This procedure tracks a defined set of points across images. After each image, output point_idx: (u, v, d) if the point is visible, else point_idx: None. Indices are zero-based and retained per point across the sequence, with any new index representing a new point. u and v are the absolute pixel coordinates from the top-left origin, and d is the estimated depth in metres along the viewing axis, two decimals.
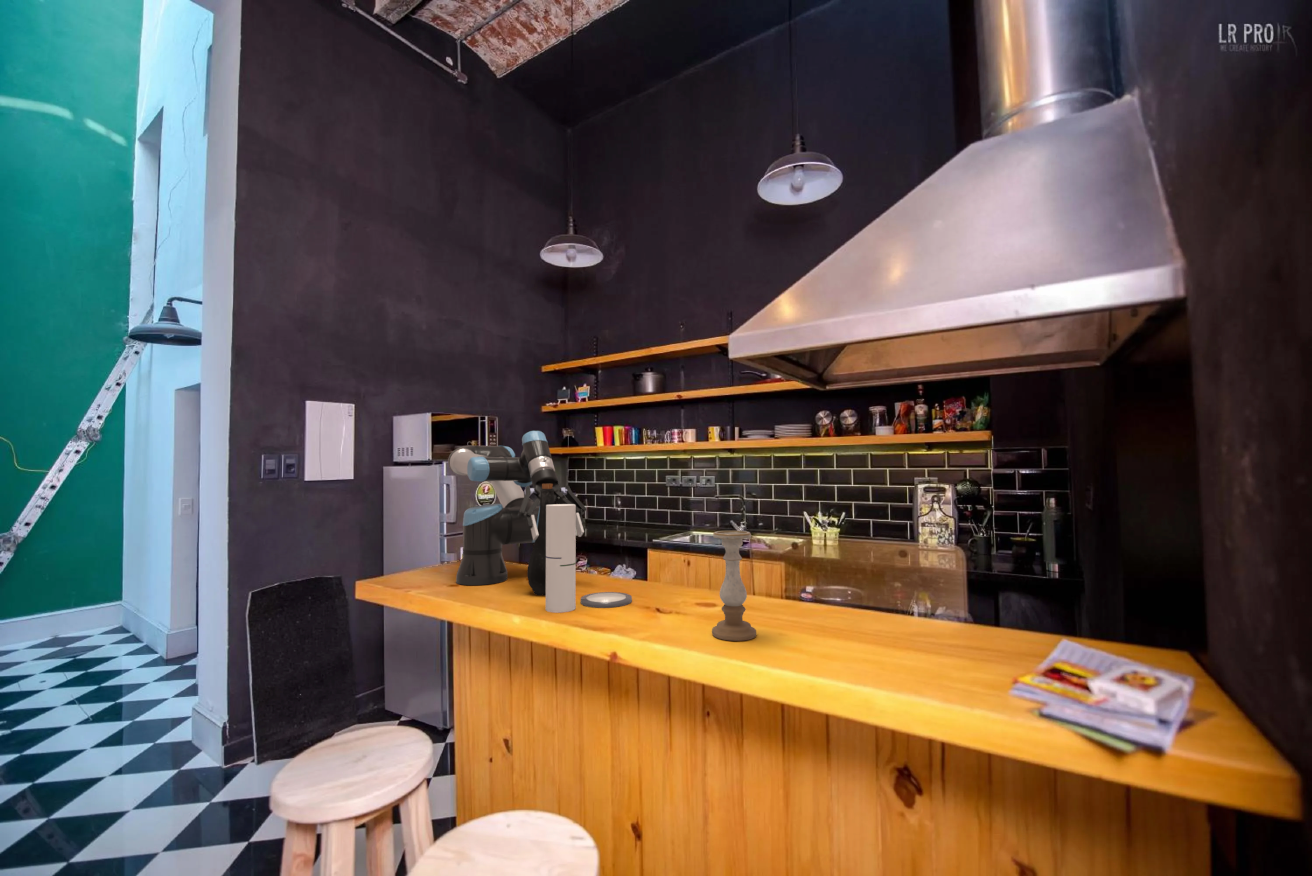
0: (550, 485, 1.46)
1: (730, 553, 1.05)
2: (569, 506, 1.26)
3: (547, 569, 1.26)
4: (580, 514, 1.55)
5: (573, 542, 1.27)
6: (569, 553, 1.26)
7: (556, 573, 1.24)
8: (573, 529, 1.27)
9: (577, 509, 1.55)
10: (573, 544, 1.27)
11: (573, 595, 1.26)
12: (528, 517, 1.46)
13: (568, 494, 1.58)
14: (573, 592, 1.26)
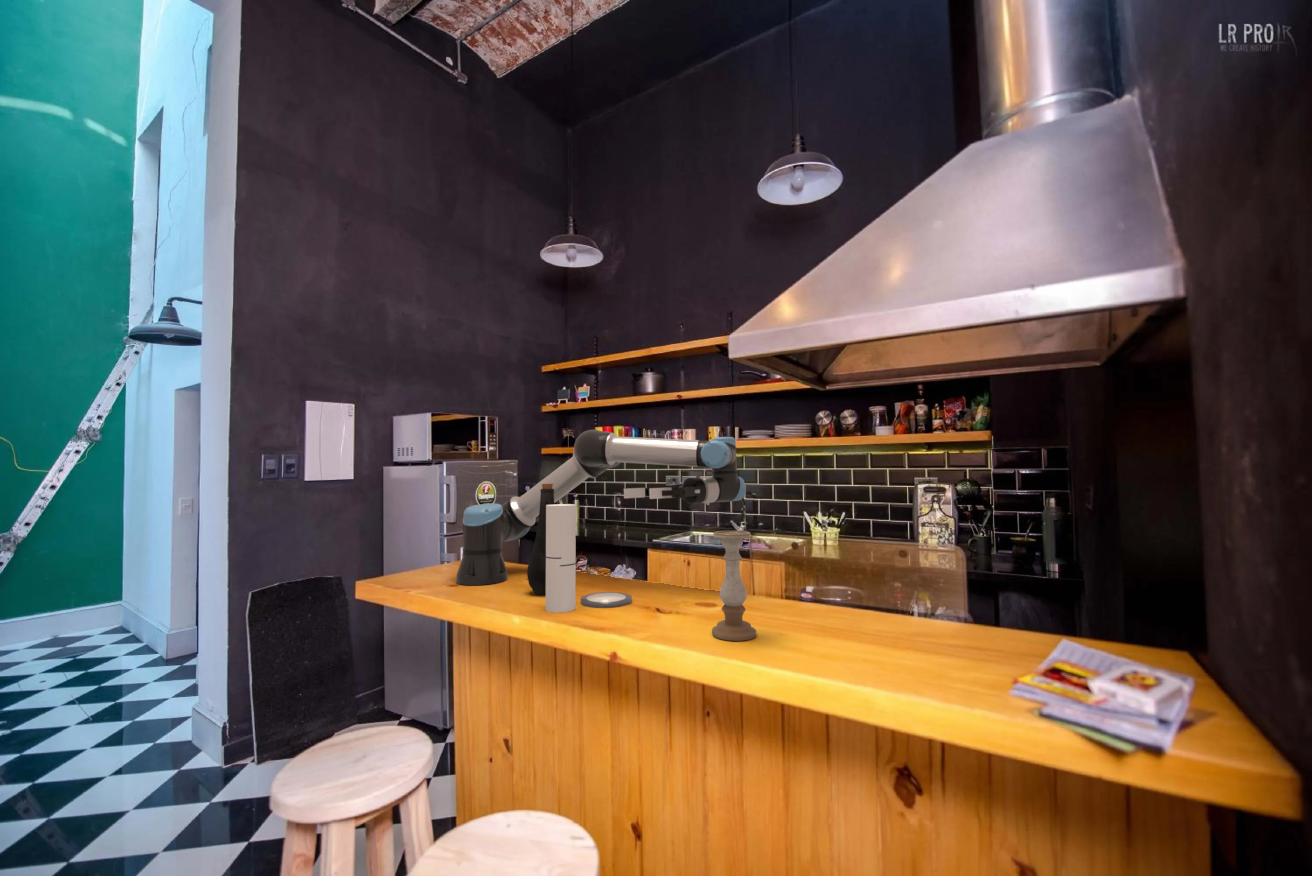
0: (550, 485, 1.46)
1: (730, 553, 1.05)
2: (569, 506, 1.26)
3: (547, 569, 1.26)
4: None
5: (573, 542, 1.27)
6: (569, 553, 1.26)
7: (556, 573, 1.24)
8: (573, 529, 1.27)
9: (647, 496, 1.51)
10: (573, 544, 1.27)
11: (573, 595, 1.26)
12: None
13: None
14: (573, 592, 1.26)
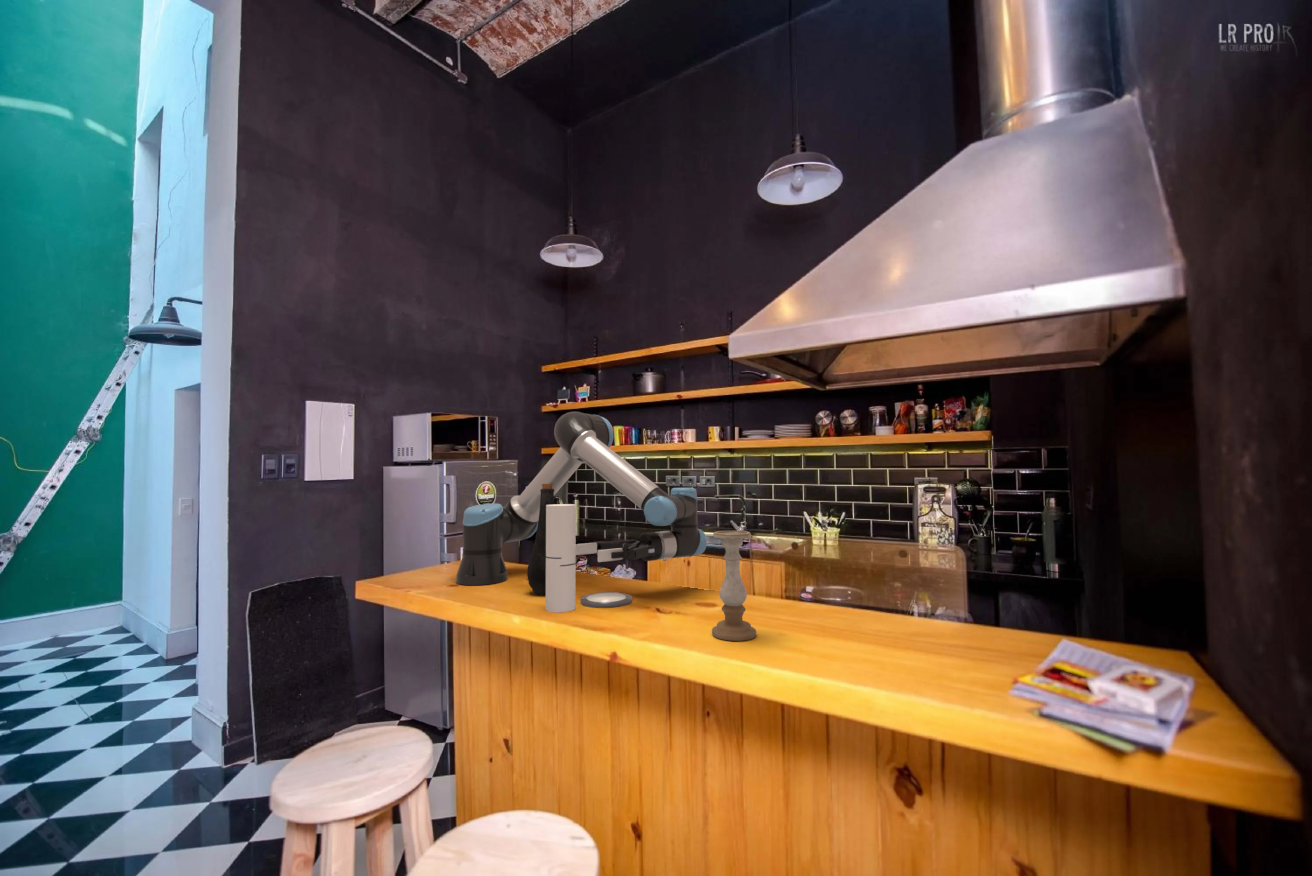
0: (550, 485, 1.46)
1: (730, 553, 1.05)
2: (569, 506, 1.26)
3: (547, 569, 1.26)
4: None
5: (573, 542, 1.27)
6: (569, 553, 1.26)
7: (556, 573, 1.24)
8: (573, 529, 1.27)
9: None
10: (573, 544, 1.27)
11: (573, 595, 1.26)
12: None
13: None
14: (573, 592, 1.26)
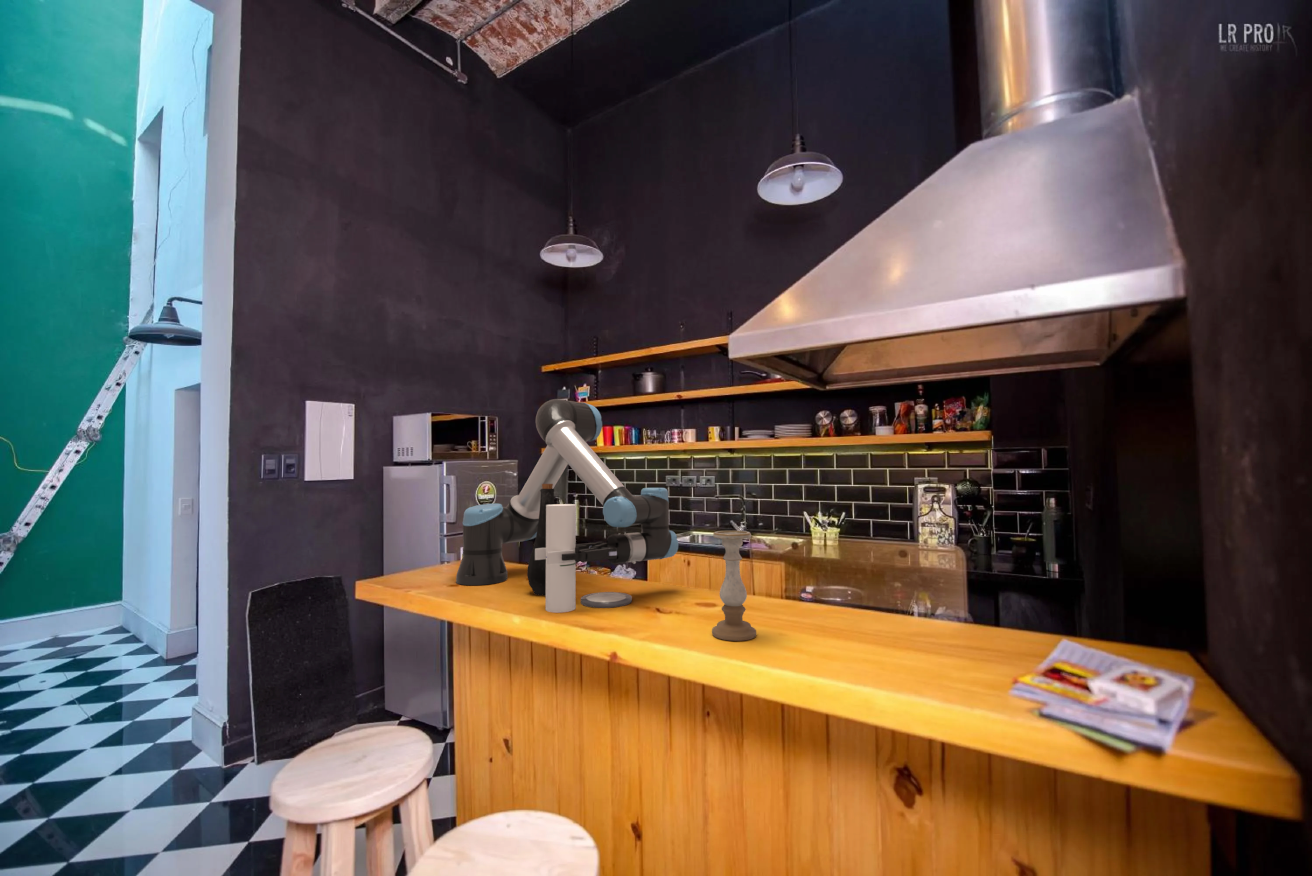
0: (550, 485, 1.46)
1: (730, 553, 1.05)
2: (569, 506, 1.26)
3: (547, 569, 1.26)
4: None
5: (573, 542, 1.27)
6: None
7: (556, 573, 1.24)
8: (573, 529, 1.27)
9: None
10: (573, 544, 1.27)
11: (573, 595, 1.26)
12: (573, 559, 1.24)
13: None
14: (573, 592, 1.26)
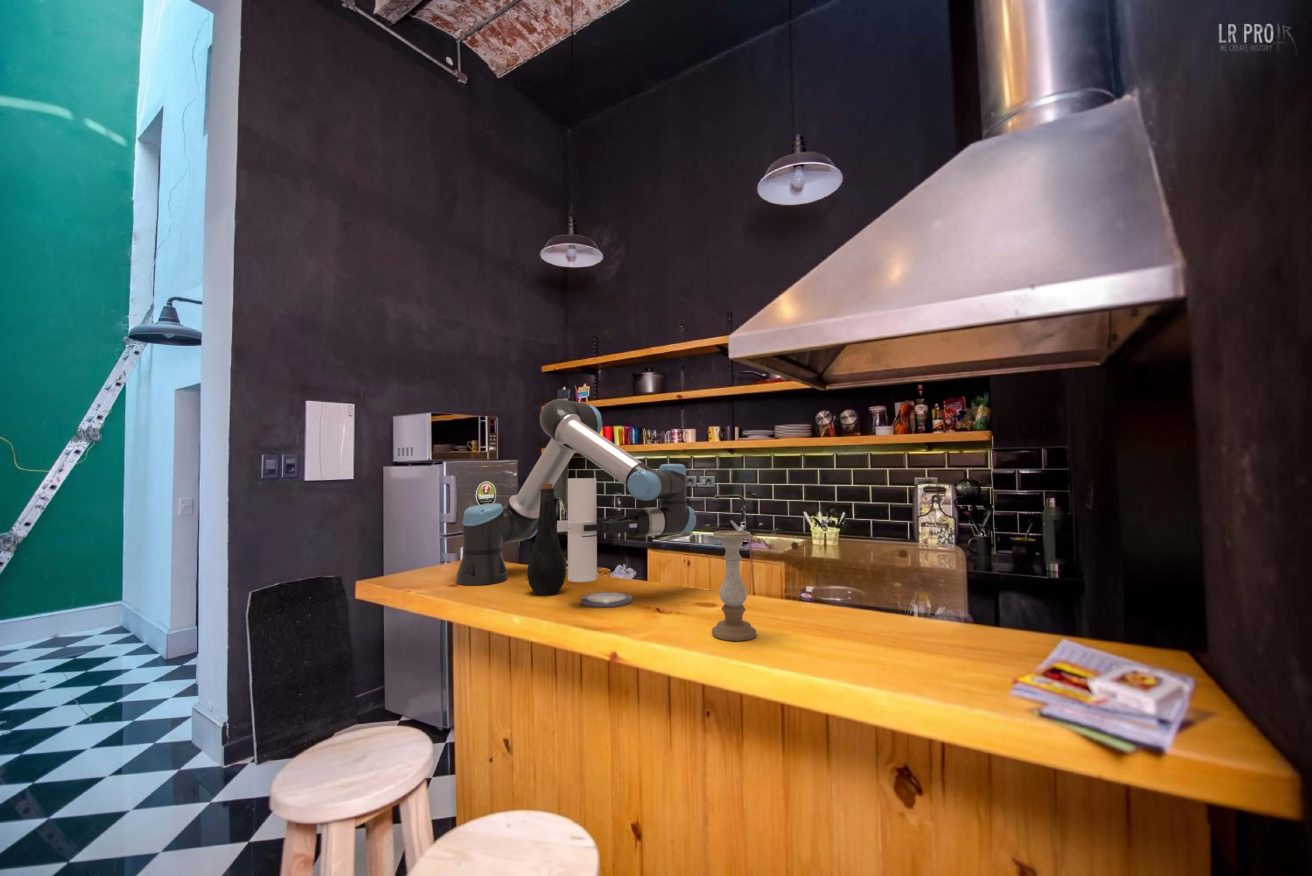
0: (550, 485, 1.46)
1: (730, 553, 1.05)
2: (590, 479, 1.30)
3: (569, 540, 1.29)
4: None
5: (594, 514, 1.30)
6: None
7: (578, 543, 1.27)
8: (594, 501, 1.30)
9: None
10: (594, 516, 1.30)
11: (594, 566, 1.29)
12: None
13: None
14: (594, 563, 1.29)
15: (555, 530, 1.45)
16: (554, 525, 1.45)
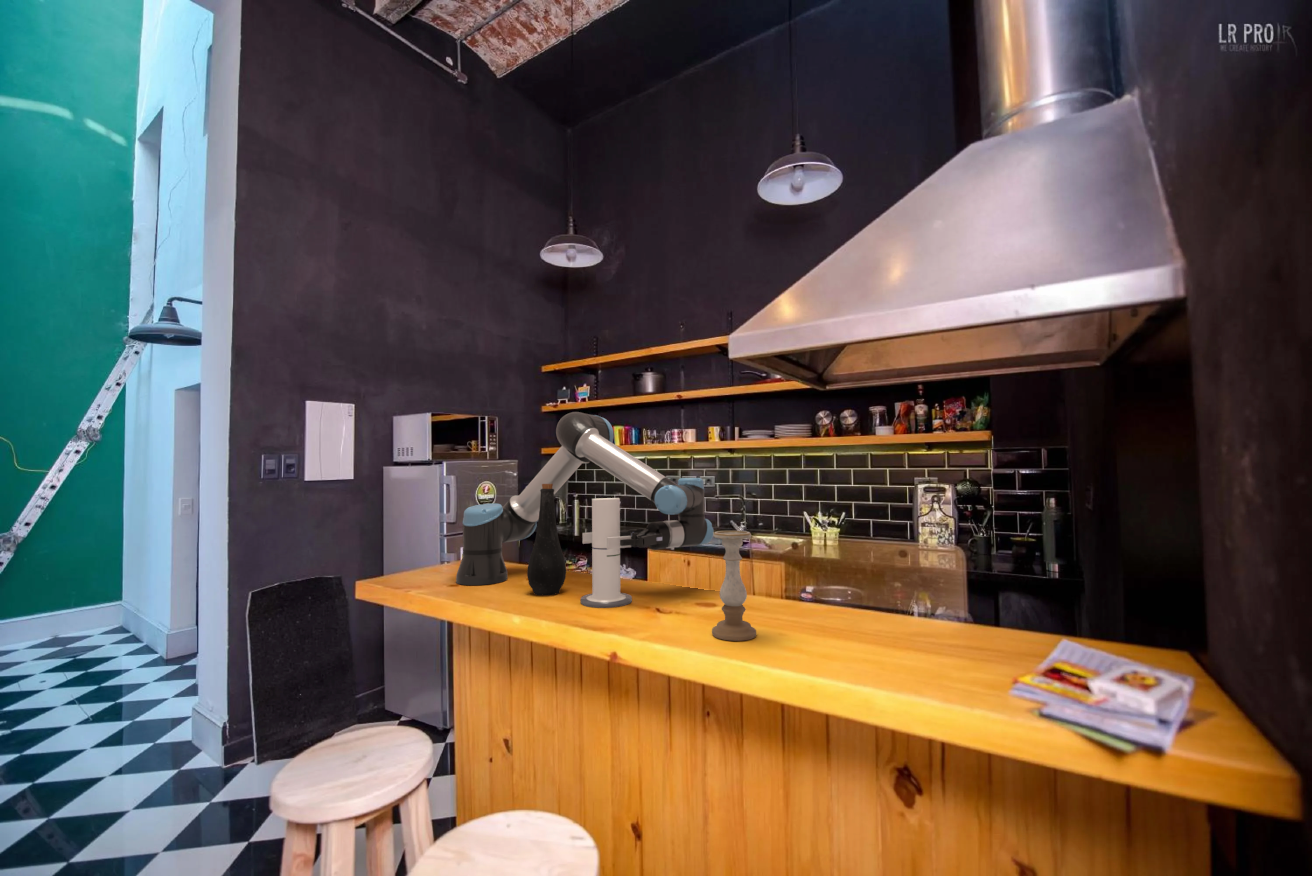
0: (550, 485, 1.46)
1: (730, 553, 1.05)
2: (614, 500, 1.33)
3: (594, 559, 1.33)
4: None
5: (618, 534, 1.34)
6: None
7: (603, 563, 1.31)
8: (618, 521, 1.34)
9: None
10: (618, 535, 1.34)
11: (619, 584, 1.33)
12: (631, 544, 1.30)
13: None
14: (618, 581, 1.33)
15: (555, 530, 1.45)
16: (554, 525, 1.45)
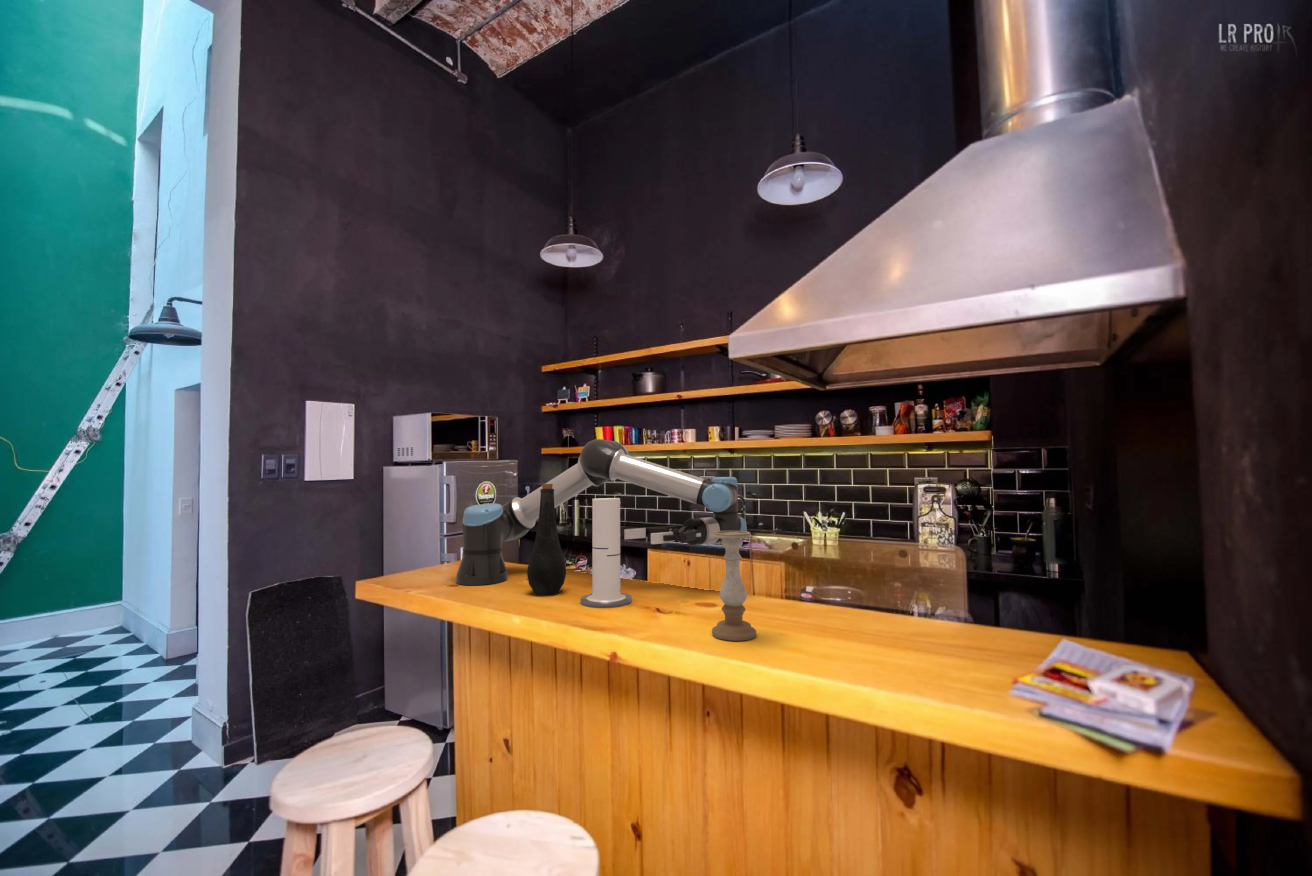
0: (550, 485, 1.46)
1: (730, 553, 1.05)
2: (615, 499, 1.34)
3: (594, 559, 1.33)
4: None
5: (618, 534, 1.34)
6: (615, 544, 1.33)
7: (603, 562, 1.31)
8: (618, 521, 1.34)
9: (647, 536, 1.50)
10: (618, 535, 1.34)
11: (619, 584, 1.33)
12: None
13: None
14: (619, 581, 1.33)
15: (555, 530, 1.45)
16: (554, 525, 1.45)
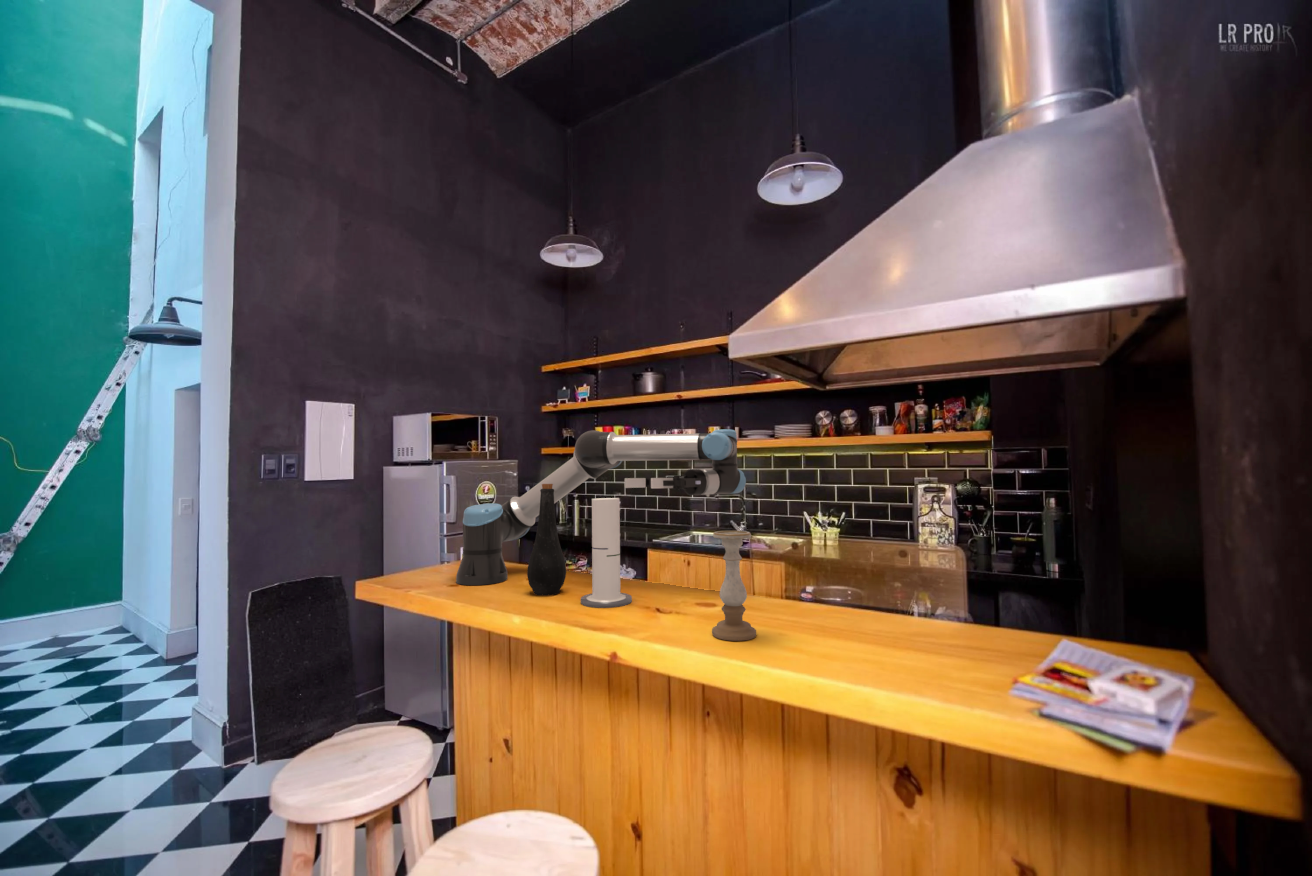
0: (550, 485, 1.46)
1: (730, 553, 1.05)
2: (614, 500, 1.33)
3: (594, 559, 1.33)
4: None
5: (618, 534, 1.34)
6: (615, 544, 1.33)
7: (603, 563, 1.31)
8: (618, 521, 1.34)
9: (647, 486, 1.52)
10: (618, 535, 1.34)
11: (618, 584, 1.33)
12: (673, 485, 1.38)
13: None
14: (618, 581, 1.33)
15: (555, 530, 1.45)
16: (554, 525, 1.45)
